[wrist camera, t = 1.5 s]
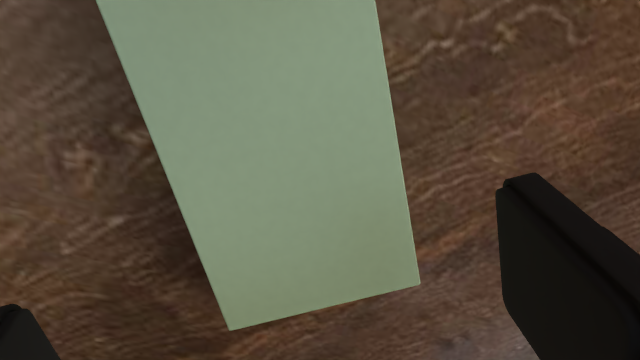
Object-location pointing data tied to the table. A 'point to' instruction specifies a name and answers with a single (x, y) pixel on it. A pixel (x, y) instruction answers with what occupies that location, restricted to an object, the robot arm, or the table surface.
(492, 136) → the table surface
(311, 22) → the sage green foam block
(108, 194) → the table surface
